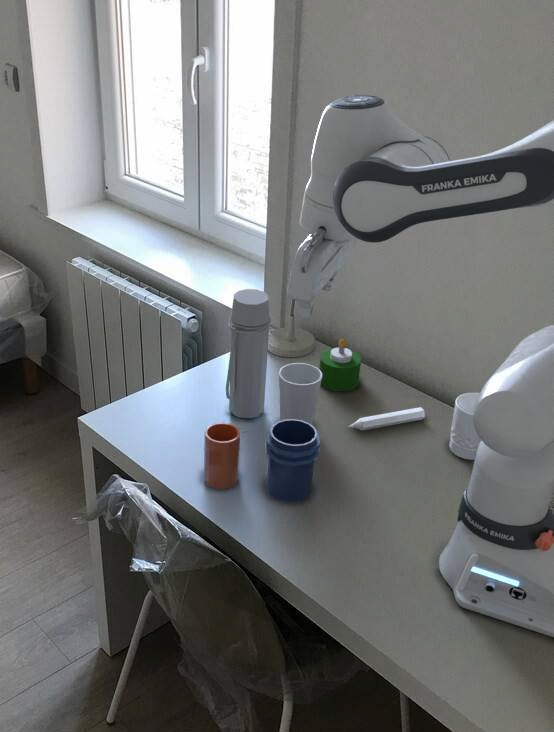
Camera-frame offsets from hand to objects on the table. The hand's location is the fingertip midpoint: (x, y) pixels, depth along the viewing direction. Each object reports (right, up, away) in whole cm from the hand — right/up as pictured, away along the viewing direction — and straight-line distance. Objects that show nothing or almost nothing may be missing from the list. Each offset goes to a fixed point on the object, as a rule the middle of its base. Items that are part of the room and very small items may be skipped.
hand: (315, 301), depth 127 cm
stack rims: (-1, -23, +17) cm, 29 cm away
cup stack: (0, -30, +22) cm, 37 cm away
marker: (+21, -18, +38) cm, 47 cm away
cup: (+4, -19, +38) cm, 42 cm away
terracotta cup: (-12, -28, +25) cm, 39 cm away
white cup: (+34, -23, +30) cm, 51 cm away
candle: (+15, -9, +51) cm, 54 cm away
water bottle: (-6, -16, +42) cm, 46 cm away
